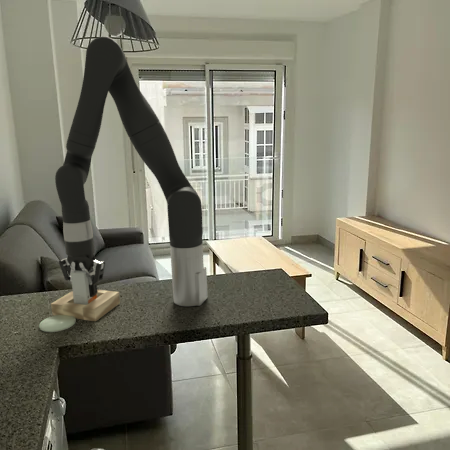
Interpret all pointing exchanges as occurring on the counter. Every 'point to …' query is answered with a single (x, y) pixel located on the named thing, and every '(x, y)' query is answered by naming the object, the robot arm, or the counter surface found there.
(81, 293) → the skincare box
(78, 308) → the pocket block
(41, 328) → the coaster
